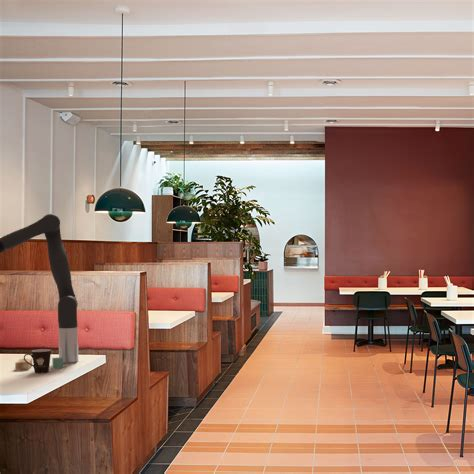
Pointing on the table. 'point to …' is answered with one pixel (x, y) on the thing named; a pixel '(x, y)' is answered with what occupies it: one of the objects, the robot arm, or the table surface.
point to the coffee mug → (40, 360)
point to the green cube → (57, 362)
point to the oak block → (23, 364)
